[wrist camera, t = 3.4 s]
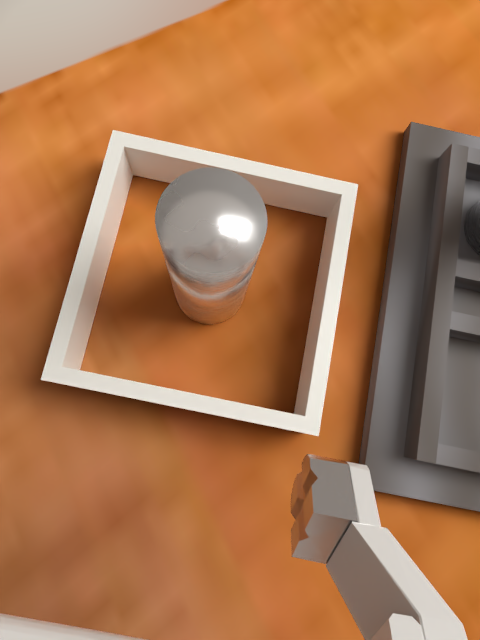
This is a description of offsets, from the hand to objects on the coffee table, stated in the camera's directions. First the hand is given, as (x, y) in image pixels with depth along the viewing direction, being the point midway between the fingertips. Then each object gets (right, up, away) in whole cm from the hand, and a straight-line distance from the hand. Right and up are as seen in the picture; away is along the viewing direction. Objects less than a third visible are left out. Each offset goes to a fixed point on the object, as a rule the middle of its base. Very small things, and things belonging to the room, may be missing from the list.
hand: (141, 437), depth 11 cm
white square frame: (+1, +5, +15) cm, 15 cm away
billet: (+1, +5, +15) cm, 15 cm away
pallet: (+17, +3, +16) cm, 23 cm away
